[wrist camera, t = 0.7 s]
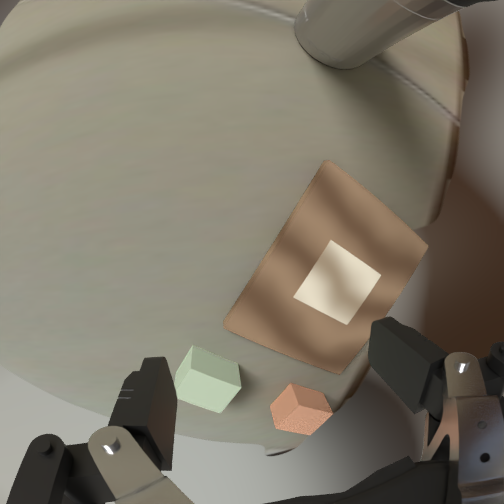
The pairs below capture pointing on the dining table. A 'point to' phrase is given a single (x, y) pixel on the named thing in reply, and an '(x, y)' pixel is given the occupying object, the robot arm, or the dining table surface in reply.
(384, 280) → the base board
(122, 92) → the dining table surface
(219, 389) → the sage green brick
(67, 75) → the dining table surface
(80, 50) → the dining table surface
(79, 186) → the dining table surface
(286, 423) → the terracotta brick
